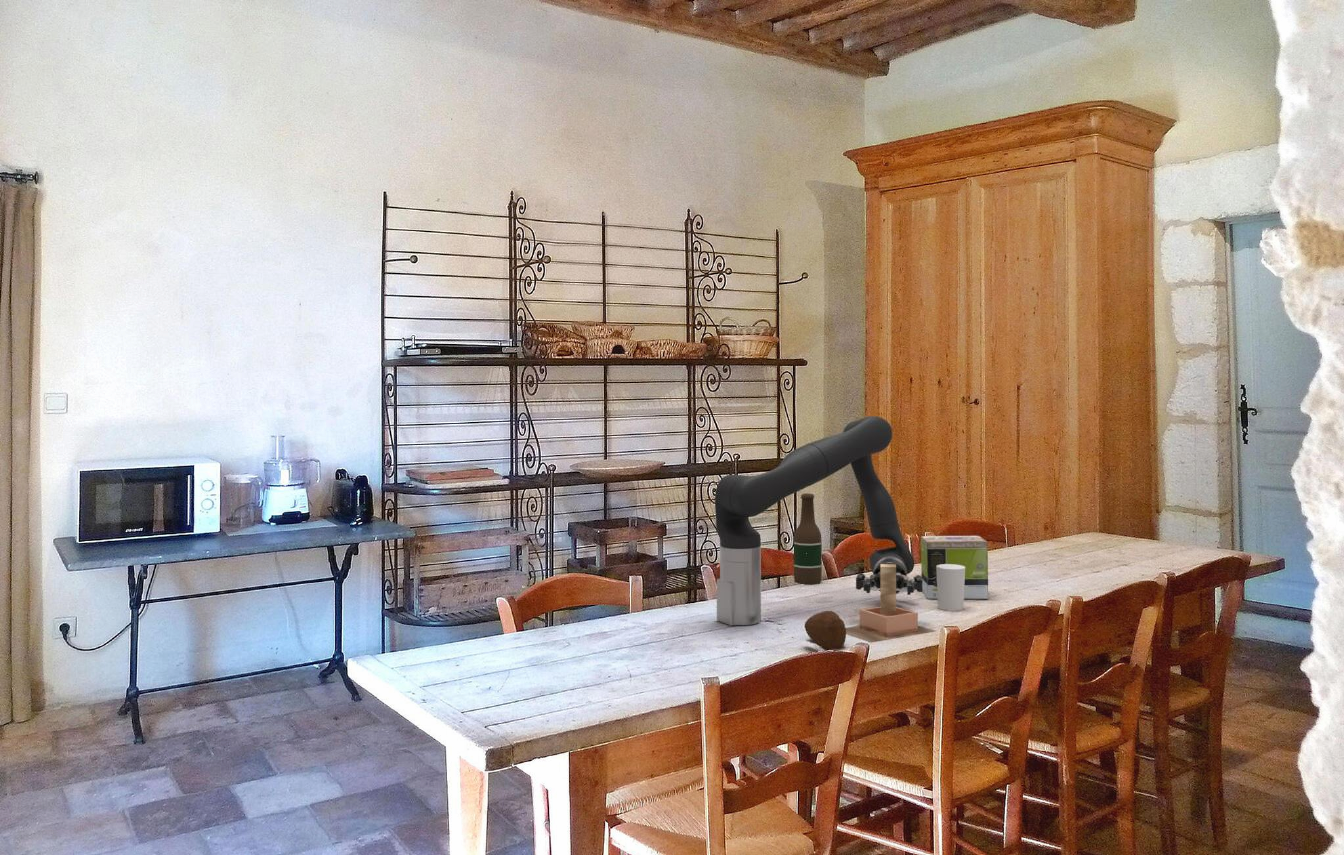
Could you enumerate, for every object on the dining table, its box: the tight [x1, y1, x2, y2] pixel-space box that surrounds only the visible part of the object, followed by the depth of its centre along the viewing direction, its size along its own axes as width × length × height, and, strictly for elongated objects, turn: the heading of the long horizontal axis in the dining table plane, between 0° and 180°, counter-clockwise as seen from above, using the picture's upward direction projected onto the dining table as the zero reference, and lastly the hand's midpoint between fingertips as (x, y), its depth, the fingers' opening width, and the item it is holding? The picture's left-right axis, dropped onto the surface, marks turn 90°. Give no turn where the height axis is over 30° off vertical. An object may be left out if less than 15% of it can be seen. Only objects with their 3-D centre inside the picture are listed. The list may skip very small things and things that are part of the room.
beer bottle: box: [793, 493, 823, 585], centre depth 270 cm, size 8×8×24 cm
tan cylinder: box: [880, 564, 897, 616], centre depth 212 cm, size 4×4×13 cm
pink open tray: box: [859, 606, 919, 637], centre depth 213 cm, size 9×9×4 cm
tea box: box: [920, 535, 989, 600], centre depth 251 cm, size 15×10×15 cm, turn 84°
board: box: [845, 625, 936, 643], centre depth 212 cm, size 18×12×1 cm, turn 119°
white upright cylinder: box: [936, 564, 965, 612], centre depth 237 cm, size 7×7×10 cm
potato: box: [804, 610, 847, 651], centre depth 202 cm, size 7×10×8 cm
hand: (888, 589), depth 212 cm, fingers open, 8 cm apart
